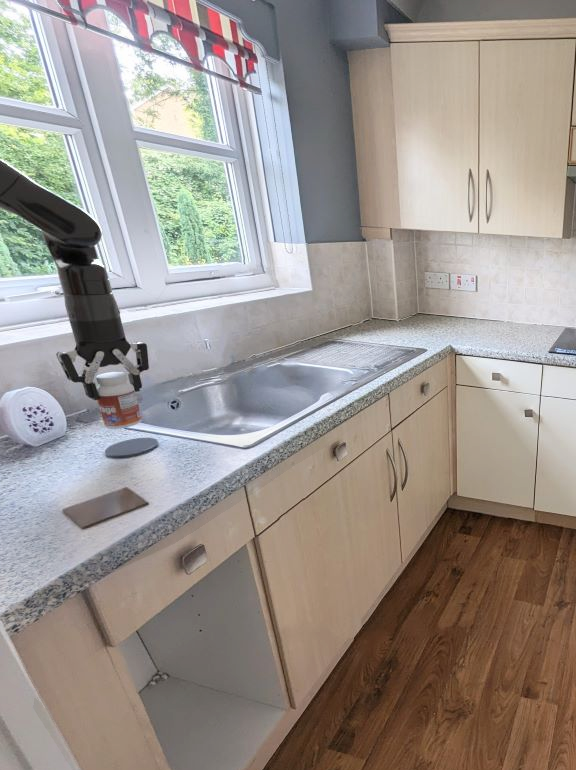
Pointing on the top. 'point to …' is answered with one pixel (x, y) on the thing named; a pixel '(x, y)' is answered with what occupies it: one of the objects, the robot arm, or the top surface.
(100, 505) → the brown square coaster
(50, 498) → the top surface
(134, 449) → the plate
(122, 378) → the pill bottle
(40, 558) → the top surface
